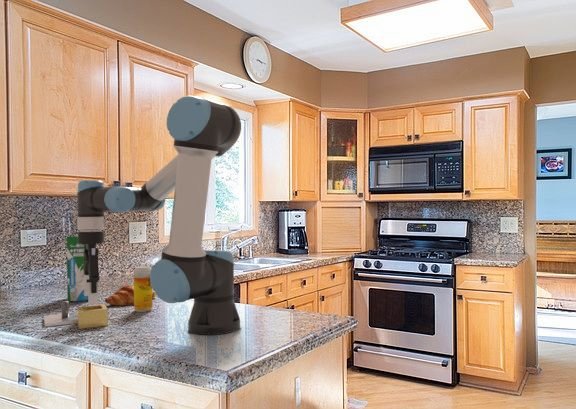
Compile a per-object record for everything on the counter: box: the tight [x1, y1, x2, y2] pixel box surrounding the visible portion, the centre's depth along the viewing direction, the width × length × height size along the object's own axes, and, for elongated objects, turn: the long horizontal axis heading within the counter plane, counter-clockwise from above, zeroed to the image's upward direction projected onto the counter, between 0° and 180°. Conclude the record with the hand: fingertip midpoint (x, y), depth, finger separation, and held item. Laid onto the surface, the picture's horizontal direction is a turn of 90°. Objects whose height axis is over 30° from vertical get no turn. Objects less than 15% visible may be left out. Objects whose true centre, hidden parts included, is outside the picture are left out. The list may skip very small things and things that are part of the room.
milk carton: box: [66, 235, 88, 302], centre depth 188 cm, size 9×9×25 cm
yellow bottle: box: [133, 265, 154, 313], centre depth 166 cm, size 6×6×15 cm
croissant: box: [104, 284, 157, 306], centre depth 180 cm, size 21×10×8 cm, turn 141°
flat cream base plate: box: [43, 300, 77, 328], centre depth 153 cm, size 12×12×6 cm
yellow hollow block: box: [76, 303, 109, 330], centre depth 147 cm, size 8×8×5 cm
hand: (91, 299), depth 148 cm, fingers open, 13 cm apart
